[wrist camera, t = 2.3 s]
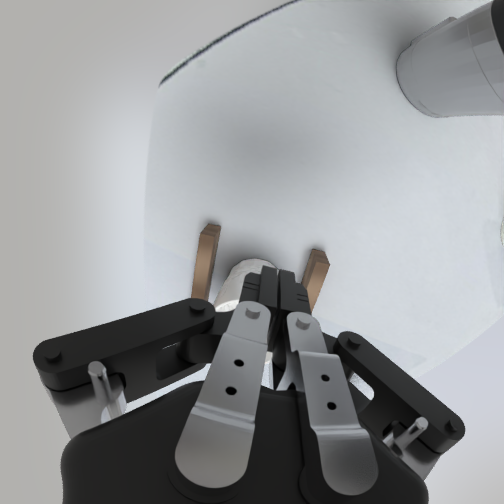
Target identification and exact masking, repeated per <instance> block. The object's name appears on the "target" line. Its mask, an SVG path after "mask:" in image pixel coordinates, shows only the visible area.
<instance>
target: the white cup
mask: <svg viewBox="0 0 504 504" xmlns="http://www.w3.org/2000/svg"><path fill="white" fill-rule="evenodd" d="M263 265H265V266H269V267H273V268H276V267H275V266H273V265H272V264H271V263H270V262H268V261H265V260H260V259H256V258H254V259H248V260H243V261H241V262H240V263H238V264H237V265H236V266H234V267H233V268H232V270H231V272H230V274H229V276H228V278H227V279H226V280H225V282H224V283H223V285H222V287H221V289H220V291H219V293H218V295H217V297H216V299H215V301H214V304H213V306H214V307H215V310H216V312H227V311H231V310H233V309H235V308H236V306H237V304H238V303H239V299H240V295H241V291H242V286H243V282H244V278H245V276H246V275H247V274H248V273H250V272H253V273H257V274H260V273H261V269H262V266H263ZM278 272H279V270H278V269H277V275H278ZM266 342H267V340H266ZM271 358H272V352H267V353H266V359H265V364H267V363H270V361H271Z"/></svg>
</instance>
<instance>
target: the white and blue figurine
mask: <svg viewBox="0 0 504 504" xmlns="http://www.w3.org/2000/svg"><path fill="white" fill-rule="evenodd" d="M501 241H502V244H503V246H504V218H503V221H502V226H501Z"/></svg>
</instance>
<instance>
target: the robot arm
mask: <svg viewBox="0 0 504 504" xmlns="http://www.w3.org/2000/svg"><path fill="white" fill-rule="evenodd" d="M397 77H398V81H399V84H400V86H401V89H402V91H403V92H404V94H405V96H406V97H407V99H408V100H409V101H410V102H411V104H412V105H413V106H415V107H416V108H417V109H418V110H419V111H421V112H422V113H424V114H426V115H428V116H431V117H437V118H439V117H454V116H479V115H504V0H493V1H491V2H489V3H487V4H485V5H482V6H480V7H478V8H476V9H475V10H473V11H471V12H469V13H467V14H465V15H463V16H461V17H460V18H458V19H456V18H455V17H449V18H447V19H446V20H444V21H442V22H441V23H439V24H437V25H436V26H434V27H433V28H431V29H429V30H428V31H426V32H425V33H423V34H422V35H420V36H419V37H417V38H416V39H414V40H413V41H412V42H411V46H410V47H409V48H407V49H406V50H404V51H403V52H402V53H401V55H400V56H399V59H398V61H397ZM266 340H267V342H266ZM175 343H176V344H175ZM173 344H174V345H173ZM170 345H171V346H170ZM168 346H169V347H168ZM165 347H166V348H165ZM163 348H164V349H163ZM267 352H272V358H271V361H270V363H269V385H270V388H267V387H265V386H262V385H261V382H262V376H263V371H264V365H265V359H266V353H267ZM33 360H34V363H35V366H36V368H37V370H38V372H39V375H40V378H41V381H42V383H43V385H44V387H45V389H46V391H47V393H48V395H49V397H50V399H51V400H52V402H53V403H54V404H55V406H56V408H57V410H58V413H59V415H60V417H61V419H62V422H63V424H64V426H65V428H66V430H67V432H68V434H69V436H70V438H71V440H70V441H69V443H68V444H67V445H66V447H65V449H64V451H63V454H62V458H61V475H62V481H63V504H428V501H429V497H428V490H427V487H426V485H425V482H424V480H425V479H426V477H427V476H428V474H429V473H430V471H431V470H432V468H433V467H434V465H435V464H436V462H437V461H438V459H439V457H440V456H441V455H443V454H444V453H445V452H446V451H447V450H449V449H450V448H451V447H452V446H454V445H455V444H456V443H457V442H458V441H459V440H461V439H462V437H463V436H464V434H465V426H464V423H463V421H462V420H461V418H460V417H459V416H458V415H456V414H455V413H454V412H453V411H451V410H450V409H449V408H448V407H447V406H446V405H444V404H443V403H442V402H441V401H439V400H438V399H437V398H436V397H435V396H434V395H432V394H431V393H430V392H429V391H427V390H426V389H425V388H424V387H422V386H421V385H420V384H419V383H418V382H417V381H415V380H414V379H413V378H412V377H411V376H409V375H408V374H407V373H406V372H404V371H403V370H402V369H401V368H400V367H398V366H397V365H396V364H395V363H394V362H392V361H391V360H390V359H389V358H387V357H386V356H385V355H384V354H383V353H381V352H380V351H379V350H378V349H377V348H375V347H374V346H373V345H372V344H370V343H369V342H368V341H367V340H366V339H364V338H363V337H362V336H360V335H359V334H356V333H354V332H349V331H345V332H342V333H340V334H339V336H338V338H335V337H333V336H330V335H328V334H325V333H323V332H322V331H321V327H320V324H319V322H318V321H317V320H316V319H315V318H314V317H313V316H312V315H311V309H310V303H309V298H308V292H307V289H306V288H305V287H304V286H303V284H300V283H295V274H294V272H290V271H286V270H282V269H280V270H279V272H278V275H277V268H273V267H269V266H265V265H263V266H262V269H261V273H260V274H257V273H253V272H250V273H248V274H247V275H246V276H245V278H244V282H243V286H242V291H241V295H240V299H239V303H238V304H237V306H236V308H235V309H233V310H231V311H227V312H216V310H215V307H214V306H213V305H212V304H211V303H210V302H208V301H206V300H203V299H199V298H188V299H185V300H182V301H178V302H175V303H172V304H169V305H166V306H162V307H159V308H156V309H152V310H149V311H146V312H143V313H139V314H136V315H133V316H129V317H126V318H123V319H119V320H116V321H112V322H109V323H106V324H102V325H98V326H95V327H91V328H88V329H85V330H81V331H77V332H74V333H70V334H67V335H63V336H59V337H56V338H52V339H48V340H45V341H43V342H41V343H40V344H39V345H38V346H37V347H36V348H35V350H34V352H33ZM206 363H212V364H211V366H210V369H209V371H208V374H207V376H206V379H205V380H204V381H196V382H192V383H188V384H185V385H183V386H181V387H178V388H176V389H175V390H173V391H171V392H169V393H167V394H165V395H163V396H161V397H159V398H157V399H155V400H153V401H151V402H149V403H147V404H145V405H143V406H140V407H138V408H136V409H134V410H132V411H130V412H128V413H125V411H126V406H127V403H129V402H132V401H134V400H137V399H139V398H141V397H143V396H146V395H148V394H150V393H153V392H155V391H157V390H159V389H161V388H164V387H166V386H168V385H170V384H172V383H174V382H176V381H179V380H181V379H183V378H185V377H187V376H189V375H191V374H193V373H195V372H197V371H199V370H201V369H203V368H204V367H205V365H206ZM354 372H355V373H356V374H357V375H358V376H359V377H360V378H362V379H363V380H364V381H365V382H366V383H367V384H368V385H369V386H370V387H371V388H372V389H373V391H374V398H373V399H372V400H369V399H368V398H367V397H366V396H365V395H364V394H363V393H362V392H360V391H359V390H358V389H357V388H356V387H355V386H354V385H353V384H352V383H351V382H350V381H349V380H350V378H351V377H352V375H353V374H354ZM124 413H125V414H124Z"/></svg>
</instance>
